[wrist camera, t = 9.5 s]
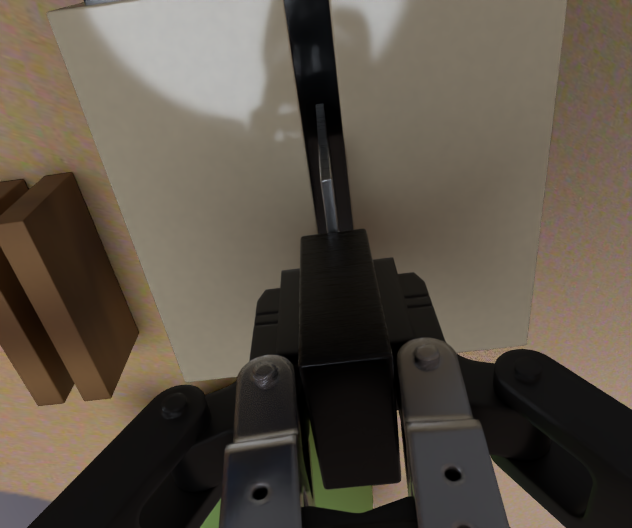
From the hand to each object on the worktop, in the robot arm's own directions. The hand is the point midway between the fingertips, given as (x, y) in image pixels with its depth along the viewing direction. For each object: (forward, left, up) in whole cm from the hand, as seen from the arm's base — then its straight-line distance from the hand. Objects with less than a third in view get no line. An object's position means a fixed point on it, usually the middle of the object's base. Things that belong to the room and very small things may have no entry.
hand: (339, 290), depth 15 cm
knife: (0, 0, -7) cm, 7 cm away
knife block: (+4, -14, -11) cm, 18 cm away
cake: (-1, 0, -11) cm, 11 cm away
